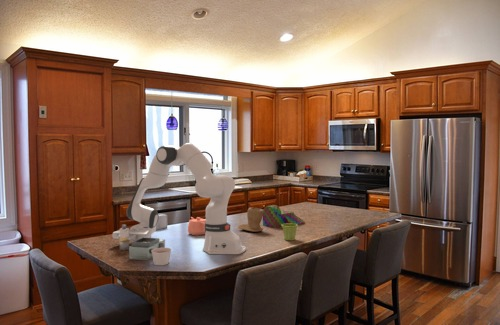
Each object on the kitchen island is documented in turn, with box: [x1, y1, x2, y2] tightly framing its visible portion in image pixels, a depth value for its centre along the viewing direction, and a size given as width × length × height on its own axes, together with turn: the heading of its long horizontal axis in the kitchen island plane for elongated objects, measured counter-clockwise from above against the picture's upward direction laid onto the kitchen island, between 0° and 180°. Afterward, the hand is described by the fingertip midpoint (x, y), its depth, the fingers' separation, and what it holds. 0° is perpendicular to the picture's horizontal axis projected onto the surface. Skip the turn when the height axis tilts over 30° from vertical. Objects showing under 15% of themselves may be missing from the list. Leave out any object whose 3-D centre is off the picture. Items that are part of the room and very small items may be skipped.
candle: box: [151, 247, 172, 266], centre depth 184 cm, size 9×9×6 cm
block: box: [262, 204, 306, 229], centre depth 274 cm, size 25×17×14 cm
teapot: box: [187, 216, 206, 237], centre depth 247 cm, size 12×18×10 cm, turn 34°
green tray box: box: [128, 237, 166, 261], centre depth 199 cm, size 11×18×8 cm, turn 166°
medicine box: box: [156, 213, 168, 230], centre depth 265 cm, size 8×4×9 cm, turn 141°
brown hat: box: [237, 207, 264, 233], centre depth 255 cm, size 15×12×15 cm
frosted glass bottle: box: [118, 224, 130, 251], centre depth 210 cm, size 5×5×13 cm
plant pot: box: [281, 223, 299, 242], centre depth 230 cm, size 9×9×9 cm
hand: (123, 238), depth 209 cm, fingers closed on frosted glass bottle, 5 cm apart
